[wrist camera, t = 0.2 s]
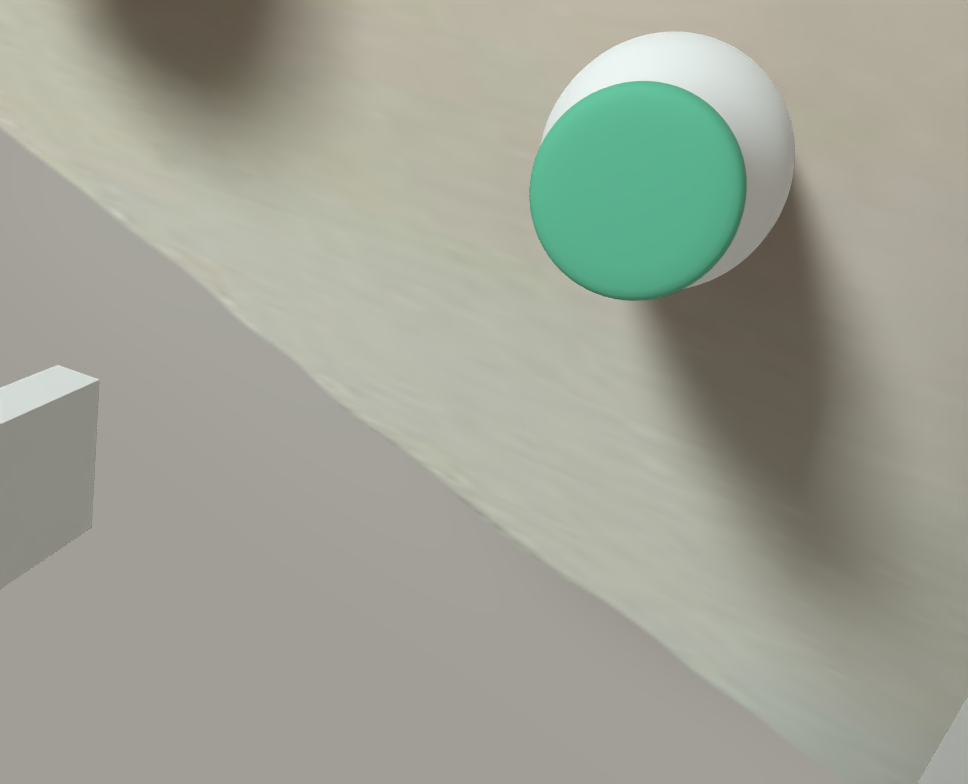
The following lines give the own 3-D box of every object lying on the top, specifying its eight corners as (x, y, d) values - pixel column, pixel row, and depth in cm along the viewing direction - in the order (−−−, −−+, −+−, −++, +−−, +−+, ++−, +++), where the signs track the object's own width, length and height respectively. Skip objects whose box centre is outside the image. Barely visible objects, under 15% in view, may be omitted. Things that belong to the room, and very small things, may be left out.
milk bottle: (611, 253, 38) (501, 397, 20) (575, 77, 36) (415, 57, 18) (791, 216, 35) (854, 341, 17) (762, 24, 33) (800, -62, 15)
